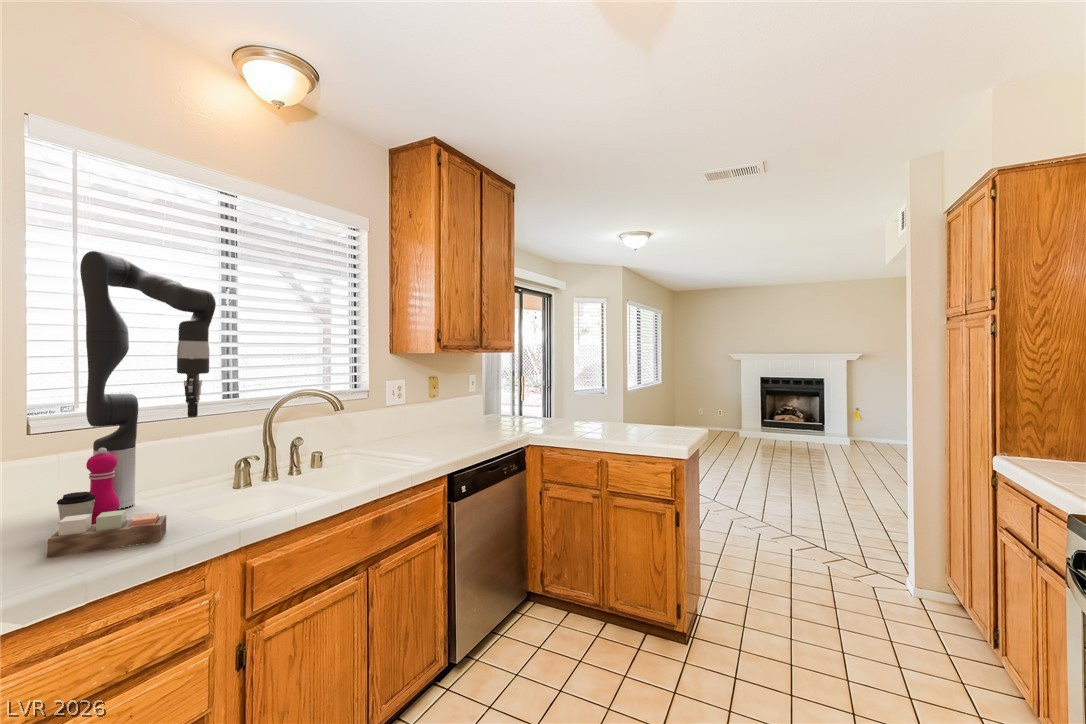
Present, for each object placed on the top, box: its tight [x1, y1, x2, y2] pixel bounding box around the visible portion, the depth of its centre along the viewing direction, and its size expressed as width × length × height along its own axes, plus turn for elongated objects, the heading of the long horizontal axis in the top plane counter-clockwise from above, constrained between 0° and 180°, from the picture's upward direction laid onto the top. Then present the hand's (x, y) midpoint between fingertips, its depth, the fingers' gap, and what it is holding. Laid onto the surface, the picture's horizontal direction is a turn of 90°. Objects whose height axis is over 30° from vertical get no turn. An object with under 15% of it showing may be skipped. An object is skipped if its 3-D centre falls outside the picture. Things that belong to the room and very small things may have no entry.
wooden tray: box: [46, 514, 167, 558], centre depth 111 cm, size 19×8×4 cm, turn 121°
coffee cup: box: [56, 491, 96, 522], centre depth 116 cm, size 7×7×10 cm
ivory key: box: [58, 514, 92, 536], centre depth 108 cm, size 4×4×4 cm
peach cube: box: [131, 512, 160, 526], centre depth 114 cm, size 4×4×4 cm
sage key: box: [96, 509, 127, 531], centre depth 111 cm, size 4×4×4 cm
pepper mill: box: [85, 448, 120, 524], centre depth 125 cm, size 7×7×20 cm
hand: (192, 416), depth 137 cm, fingers closed
